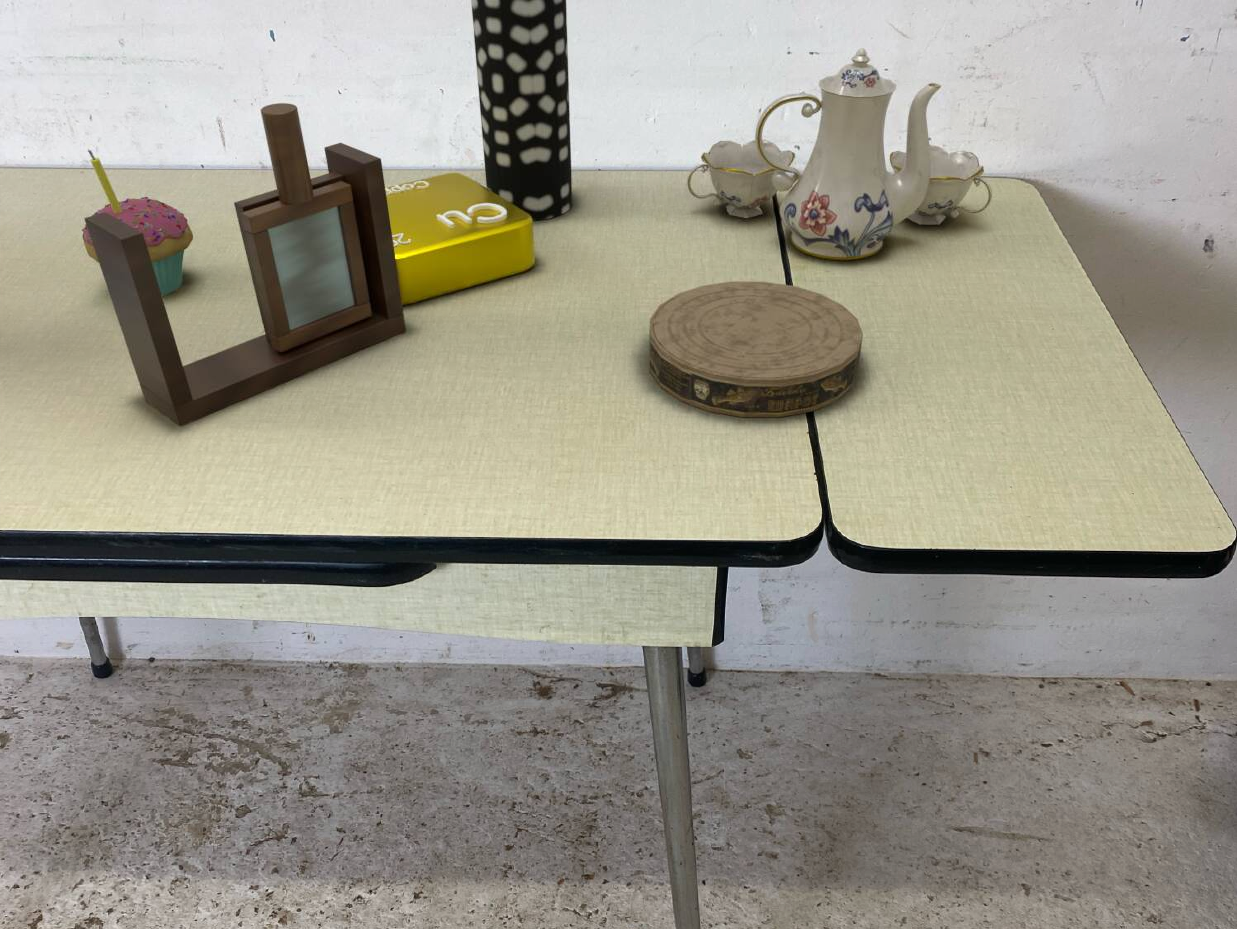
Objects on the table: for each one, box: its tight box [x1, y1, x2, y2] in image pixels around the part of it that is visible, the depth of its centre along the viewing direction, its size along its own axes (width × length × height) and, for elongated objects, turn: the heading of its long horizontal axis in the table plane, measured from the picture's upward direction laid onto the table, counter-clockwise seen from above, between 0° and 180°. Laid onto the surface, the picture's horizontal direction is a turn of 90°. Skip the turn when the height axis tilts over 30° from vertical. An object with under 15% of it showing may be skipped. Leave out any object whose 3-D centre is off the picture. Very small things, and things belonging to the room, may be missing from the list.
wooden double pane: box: [84, 142, 407, 427], centre depth 79 cm, size 20×5×14 cm, turn 136°
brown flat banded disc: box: [648, 281, 864, 418], centre depth 82 cm, size 16×16×3 cm
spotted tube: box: [470, 0, 573, 221], centre depth 100 cm, size 8×8×20 cm
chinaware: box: [686, 47, 993, 261], centre depth 97 cm, size 28×17×17 cm, turn 89°
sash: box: [241, 102, 372, 352], centre depth 78 cm, size 8×2×16 cm, turn 136°
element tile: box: [385, 172, 536, 306], centre depth 96 cm, size 15×15×5 cm
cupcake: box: [81, 149, 194, 297], centre depth 89 cm, size 9×8×12 cm
